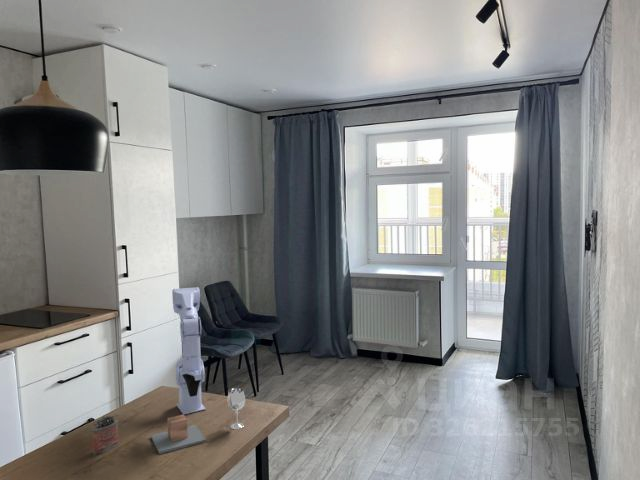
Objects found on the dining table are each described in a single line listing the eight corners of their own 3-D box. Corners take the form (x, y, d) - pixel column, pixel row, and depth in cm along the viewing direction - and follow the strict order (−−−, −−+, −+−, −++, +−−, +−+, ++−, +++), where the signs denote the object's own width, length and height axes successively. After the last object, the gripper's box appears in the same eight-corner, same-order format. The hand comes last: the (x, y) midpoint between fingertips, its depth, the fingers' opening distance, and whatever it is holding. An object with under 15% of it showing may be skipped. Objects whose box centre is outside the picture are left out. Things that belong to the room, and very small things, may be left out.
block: (168, 436, 152) (167, 418, 151) (184, 432, 154) (183, 414, 154) (171, 442, 148) (170, 423, 148) (187, 437, 151) (186, 419, 150)
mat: (150, 437, 153) (150, 435, 153) (195, 426, 160) (194, 424, 160) (159, 454, 142) (159, 451, 142) (206, 441, 149) (205, 439, 149)
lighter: (115, 441, 150) (113, 410, 150) (121, 444, 148) (120, 413, 148) (90, 452, 144) (88, 420, 143) (96, 456, 142) (95, 423, 141)
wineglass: (242, 430, 156) (241, 394, 156) (225, 429, 158) (224, 393, 157) (248, 422, 162) (247, 388, 161) (232, 421, 163) (231, 386, 162)
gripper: (173, 351, 163) (175, 391, 164) (185, 362, 150) (186, 405, 151) (194, 348, 166) (196, 387, 167) (207, 358, 154) (208, 400, 155)
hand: (193, 395), depth 159 cm, fingers closed
